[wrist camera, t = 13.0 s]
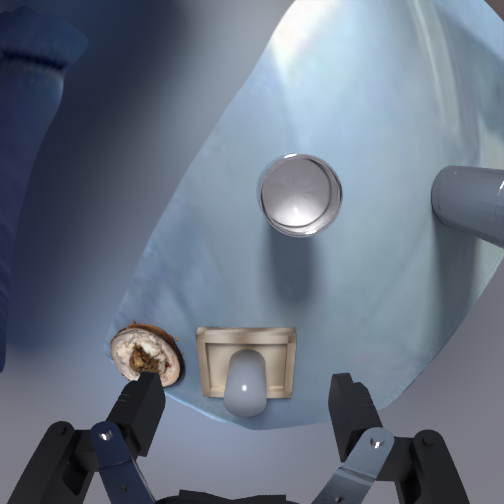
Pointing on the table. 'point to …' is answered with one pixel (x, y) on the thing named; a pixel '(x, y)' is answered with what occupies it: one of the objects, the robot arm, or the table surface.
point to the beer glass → (299, 194)
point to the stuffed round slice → (146, 353)
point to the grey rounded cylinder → (245, 384)
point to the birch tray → (234, 339)
